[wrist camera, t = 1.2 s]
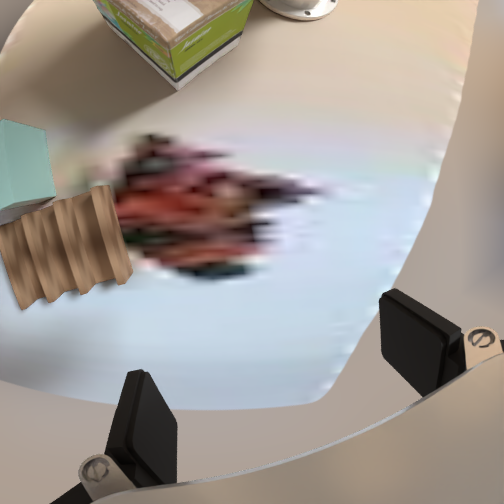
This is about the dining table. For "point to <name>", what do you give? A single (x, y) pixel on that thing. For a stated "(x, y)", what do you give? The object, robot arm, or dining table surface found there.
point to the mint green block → (24, 166)
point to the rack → (65, 247)
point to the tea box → (178, 32)
